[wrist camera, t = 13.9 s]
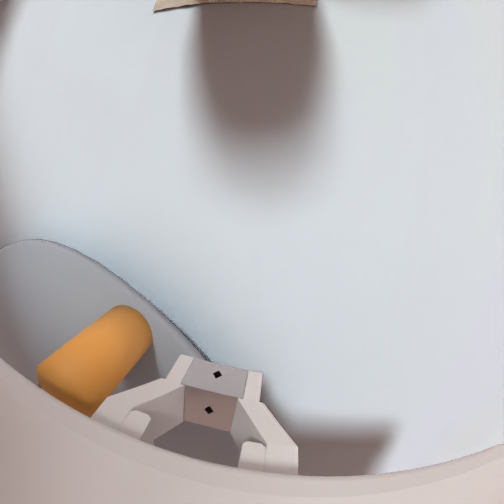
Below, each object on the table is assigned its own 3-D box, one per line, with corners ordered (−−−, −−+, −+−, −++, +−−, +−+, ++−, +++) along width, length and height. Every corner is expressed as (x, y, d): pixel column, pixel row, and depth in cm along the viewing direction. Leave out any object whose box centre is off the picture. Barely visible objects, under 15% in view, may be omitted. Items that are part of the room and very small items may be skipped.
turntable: (-28, 327, 15) (-62, 347, 10) (63, 143, 10) (-29, 136, 5) (118, 494, 18) (101, 526, 12) (321, 470, 13) (325, 540, 7)
